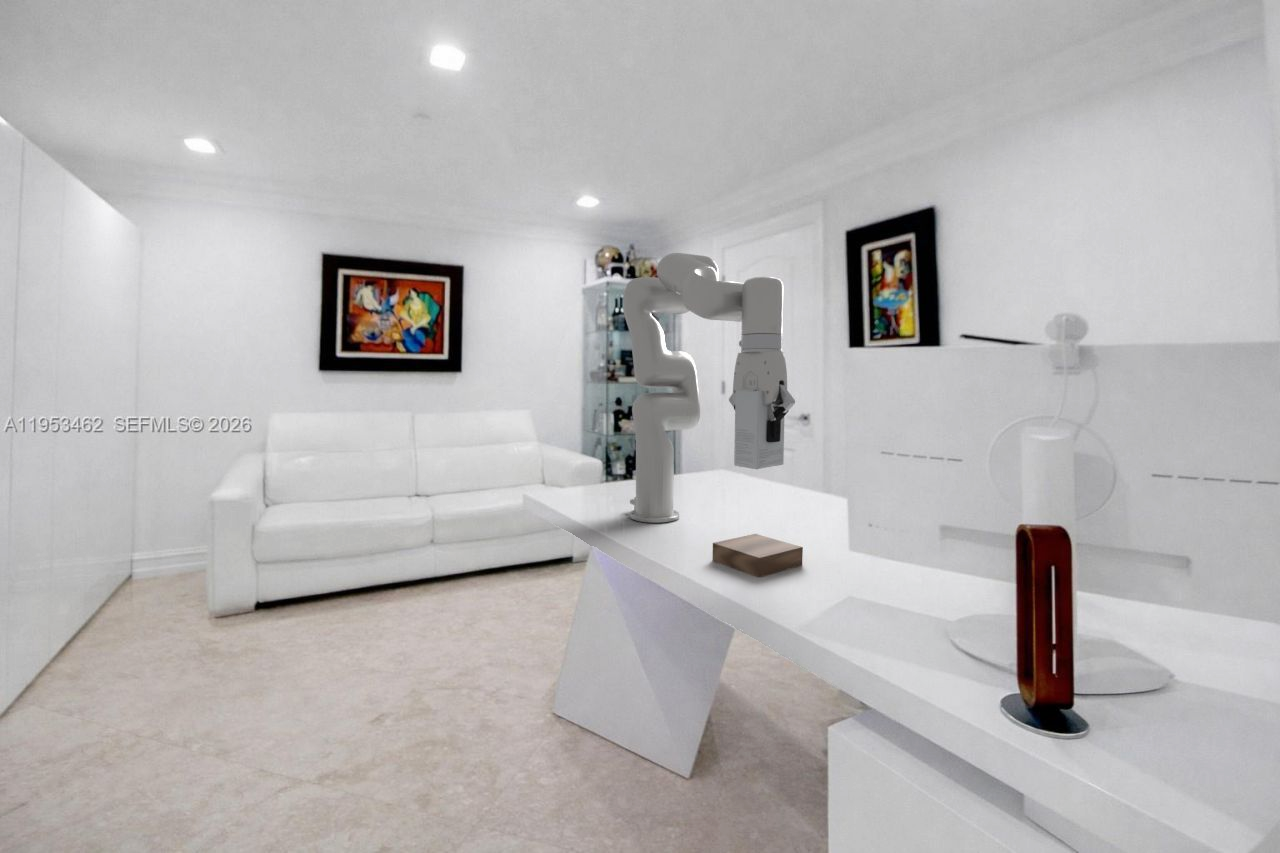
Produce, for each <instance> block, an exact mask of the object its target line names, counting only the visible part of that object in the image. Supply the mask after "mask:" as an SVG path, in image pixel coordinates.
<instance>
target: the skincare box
mask: <svg viewBox="0 0 1280 853" xmlns="http://www.w3.org/2000/svg"><path fill="white" fill-rule="evenodd" d="M778 397H779V394H778ZM772 403H775V402H772ZM781 406H782V405H781ZM767 411H768V406H767V405H763V404H762V390H746V389H744V390H735V410H734V458H733V459H734V460H733V463H734V466H735V467H739V468H741V467H742V468H747V469H752V470H760V469H765V468H772V467H777V466H778V467H779V466H782V465H784V458H785V456H784V454H785V453H784V452H785V451H784V450H785V444H784V443H785V418H784V419H783V420H781V434H780V441H779V442H767V441H766V434H767V421H770V419H769V415H768V412H767ZM774 411H775V408H774Z"/></svg>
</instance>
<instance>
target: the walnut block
mask: <svg viewBox="0 0 1280 853" xmlns="http://www.w3.org/2000/svg"><path fill="white" fill-rule="evenodd" d="M803 548H804V547H803V546H801V545H796V544H794V543H790V542H786V541H783V540H779V539H777V538H776V539H775V538H772V537H768V536H764V535H761V534H758V533H754V534H748V535H743V536H739V537H734V538H730V539H725V540H720V541H716V542H712V562H716V563H718V564H721V565H724V566H726V567H729V568H732V569H736V570H737V571H740V572H743V573H746V574H749V575H752V576H755V577H758V578H761V577H765V576H768V575H772V574H775V573H779V572H783V571H785V570H790V569H793V568H797V567H801V566H803V556H804V555H803V554H804V550H803Z"/></svg>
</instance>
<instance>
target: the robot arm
mask: <svg viewBox="0 0 1280 853" xmlns="http://www.w3.org/2000/svg"><path fill="white" fill-rule="evenodd" d="M719 274H720V272H719V268H718V265H717V263H716V262H715V260H714V259H712V258H711V257H709V256H706V255H699V254H691V253H682V252H673V253H669V254H668V253H667V255H664V256H663V257H662V258H661V259H660V260H659V262H658V264H657V267H656V275H657V277H656V276H655V277H653V276H652V277H651V276H641V277H635V278H633V279H631V280H629V281H628V283H626V286H625V288H624V290H623V296H622V310H623V315H624V318H625V321H626V325H627V328H628V331H629V334H630V335H629V336H630V340H631V341H630V342H631V352H632V361H633V370H634V378H635V380H636V382H637V384H638V385H639V386H640V387H642V388H647V389H672V391H673V392H666V391H665V392H662V391H661V392H647V393H643V394H640V395H639V396H637V397H636V398H635V400H634V402H633V404H632V410H631V411H632V412H631V413H632V419H633V426H634V432H635V497H634V498H631V499H630V500H629V503H630V504H631V505H633V507H634V509H633V510H631V511H630V512H629V518H630V519H631V520H633V521H637V522H641V523H642V522H643V523H649V524H650V523H652V524H654V523H655V524H656V523H657V524H660V523H661V524H662V523H668V522H669V523H670V522H674V521H677V520H678V519H679V518H680V513H679V512H678V511H677V510H675V509H674V483H675V482H674V478H675V477H674V476H675V475H674V474H675V468H674V467H675V465H674V463H675V462H674V461H675V459H674V458H675V455H674V454H675V451H674V450H675V449H674V445H673V443H672V441H671V439H670V437H669V436H668V434H667V431H680V430H681V431H682V430H690V429H693V428H695V427H696V426H697V425H698V423H699V421H700V417H701V401H700V393H699V384H698V375H697V369H696V368H697V367H696V364H695V361H694V359H693V358H692V356H691V355H690V354H688V353H687V352H684V351H679V350H668V349H667V347H666V346H667V345H666V338H665V333H664V329H663V328H662V326H661V324H660V322H659V321H658V320H657V319H656V318H655V317H654V316H653V314H652V313H659V314H673V315H674V314H675V315H683V314H687V313H689V312H691V313H692V314H694V315H696V316H698V317H700V318H703V319H706V320H708V321H709V320H710V321H724V322H725V321H726V322H727V321H728V322H736V323H737V322H739V323H740V322H741V338H740V339H741V340H739V342H738V346H739V347H740V348H741V349H740V352H738V353H737V356H736V361H735V366H734V372H733V383H732V394H731V395H730V397H729V398H728V402H729V403H730V404H731V406H732V407H733V410H734V411H735V390H744V389H746V390H762V404H763V405H767V406H768V411H767V412H768V415H769V419H770V421H767V434H766V441H767V442H779V441H780V434H781V420H783V419H784V420H785V416H786V415H787V413H789V410H790V409H791V408H793V406H794V405H795V403H796V400H795V398H794V397H793V396H792V394H791V393H790V392H789V391H788V371H787V363H786V356H785V352H784V351H783V315H784V314H783V313H784V312H783V310H784V309H783V308H784V283H783V282H782V280H781V279H780V278H777V277H772V276H756V277H751V278H748V279H746V280H745V281H744V282H736V281H728V280H727V281H725V280H719ZM778 394H779V397H778ZM772 402H775V403H772ZM781 405H782V406H781ZM774 408H775V411H774Z"/></svg>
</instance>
